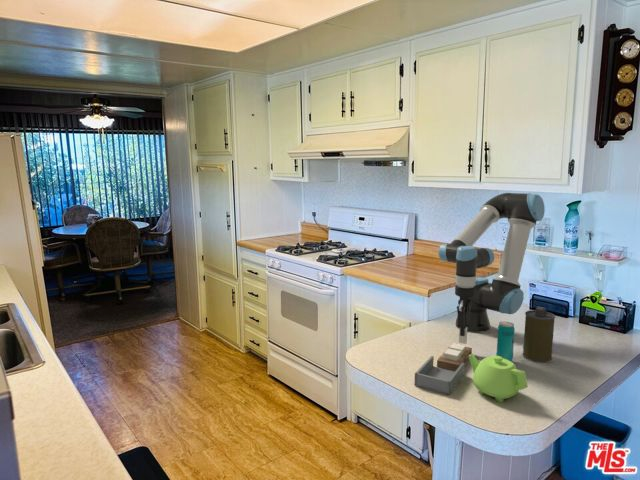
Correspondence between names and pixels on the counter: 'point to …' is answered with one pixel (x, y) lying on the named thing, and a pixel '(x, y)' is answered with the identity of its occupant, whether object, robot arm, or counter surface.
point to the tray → (438, 377)
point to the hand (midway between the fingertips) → (462, 342)
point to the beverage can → (505, 340)
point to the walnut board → (453, 364)
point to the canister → (538, 335)
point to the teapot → (497, 377)
